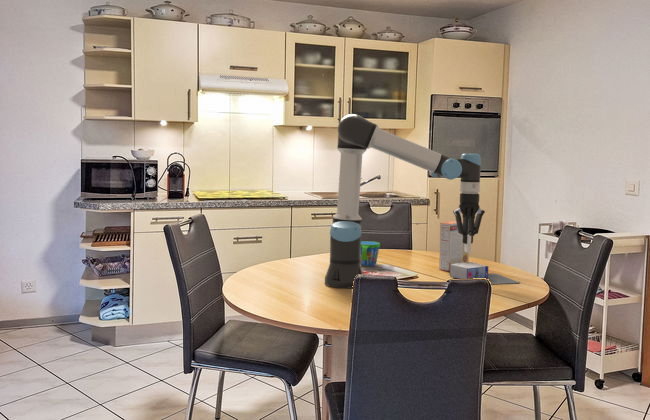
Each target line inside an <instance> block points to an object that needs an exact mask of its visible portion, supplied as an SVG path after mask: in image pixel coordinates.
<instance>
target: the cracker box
mask: <svg viewBox="0 0 650 420" xmlns="http://www.w3.org/2000/svg"><path fill="white" fill-rule="evenodd" d="M462 225H463V220H462ZM468 226H469V222H468ZM439 234H440V235H439V238H440V239H439V267H438V268H439V270H440V271H445V272H450V264H457V263H467V262H470V261H469V259H470V257H469V256H470V252H465V251H464V243H463V235H462V234H459V233H458V228H457V222H456V220H453V221H445V222H443V221H442V222H440V225H439ZM468 235H469V234H468Z"/></svg>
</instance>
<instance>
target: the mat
mask: <svg viewBox="0 0 650 420" xmlns="http://www.w3.org/2000/svg"><path fill="white" fill-rule="evenodd" d="M486 279H489V281H490V282H491V284H493V285H511V284H512V285H513V284H515V285H516V284H520V283H521V282H520V281H517V280H514V279H512V278H509V277H506V276H503V275H501V274H499V273H496V272H494V273H493V272H491V273H488V278H486Z"/></svg>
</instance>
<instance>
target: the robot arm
mask: <svg viewBox="0 0 650 420" xmlns="http://www.w3.org/2000/svg"><path fill="white" fill-rule="evenodd" d="M337 133H338V134H337V147H336V148H337V150H338V151H339V153H340V161H339V162H340V163H339V173H338V174H339V175H338V176H339V177H338V191H337V192H338V193H337V206H336V207H337V208H336V213H335V214H334V215H333V216H332V224H331V225H330V229H329V236H330V238H329V239H330V241H329V242H330V243H329V244H330V245H329V264H328V268H327V271H326V274H325V277H324V285H326V286H329V287H331V288H332V287H333V288H338V289H353V288H352V286H353V281H354V278H355V276H356V275H357V274H363V275H364V273H363V270H362V265H360V254H361V241H362V234H363V233H362V221H363V220H362V217H361V216H360V214H359V209H360V196H361V195H360V194H361V181H362V179H361V178H362V165H363V155H364V154H365V152H367V150H368V149H374V150H377V151H379V152H381V153H384V154H387V155H388V156H390V157H394V158H396V159H399V160H401V161H403V162H405V163H408V164H411V165H414V166H416V167H418V168H421V169H423V170H425V171H428V172H429V173H430V176H431V177H432V178H445V179H447V180H450V181H451V180H454V179H457V178H460V185H459V187H460V188H459V191H460V193H459V205H458V207H457V209H454V210H453V211H452V213H453V214H454V217H455V221H456V222H457V228H458V233H459V234H462V235H463V243H464V251H465V252H469V253H471V252H472V250H471V249H472V244H473V243H474V236H475V235H478V234H479V231H480V226H481V222H482V219H483V216H484V214H485V210H484V209H482V208H480V204H479V203H480V189H481V186H480V185H481V171H482V170H481V167H482V165H481V164H482V159H481V155H480V154H479V153H461V156H460V157H459V158H451V157H449V156H446V155H444V154H442V153H440V152H437V151H435V150H432V149H431V148H428V147H425V146H423V145H421V144H418V143H415V142H413V141H410V140H408V139H405V138H403V137H401V136H398V135H395V134H393V133H391V132H388V131H386V130H383V129H381V128H380V127H379V125H378V124H376V123H373V122H371V121H369V120H368V119H366V118H364V117H363V116H361V115H360V114H357V113H350V114H347V115H345V116H343V117H342V118H341V120H339V123H338V125H337ZM461 214H462V215H461ZM462 221H463V225H462ZM468 222H469V226H468ZM468 234H469V235H468Z"/></svg>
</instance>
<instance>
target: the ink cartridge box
mask: <svg viewBox="0 0 650 420" xmlns="http://www.w3.org/2000/svg"><path fill="white" fill-rule="evenodd" d="M488 274H489V266H488V265H485V264H481V263H477V262H472V261H469V262H467V263H457V264H450V271H449V277H450V278H453V279H456V280H457V279H458V280H461V279H473V278H488Z"/></svg>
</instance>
